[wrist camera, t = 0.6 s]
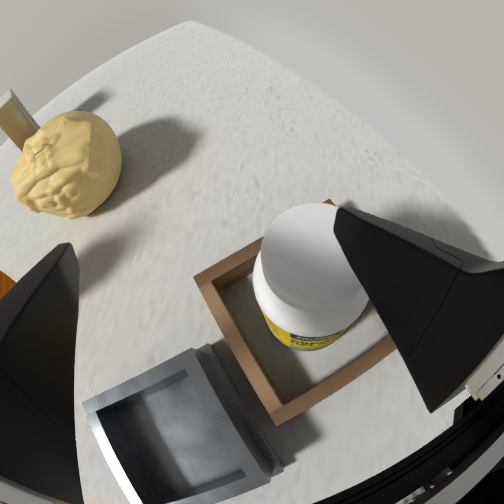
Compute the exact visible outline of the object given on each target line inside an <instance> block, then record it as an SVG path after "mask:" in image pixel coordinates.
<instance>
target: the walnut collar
mask: <svg viewBox="0 0 504 504" xmlns="http://www.w3.org/2000/svg"><path fill="white" fill-rule="evenodd" d="M323 203H327V204H331V205H334V206H336V205H335V204H334V203H333V202H332V201H331V200H330V199H328V200H326V201H325V202H323ZM263 237H264V236H263ZM263 237H261V238H260V239H258V240H256V241H254V242H253V243H251V244H249V245H248V246H246V247H244V248H242V249H241V250H239V251H237V252H235V253H234V254H232V255H230V256H228V257H227V258H225V259H223V260H221V261H220V262H218V263H216V264H215V265H213V266H211V267H209V268H208V269H206V270H204V271H202V272H201V273H199V274H197V275H195V276H194V277H193V278H194V280H195V282H196V284H197V286H198V288H199V290H200V291H201V293H202V295H203V297H204V299H205V301H206V303H207V305H208V307H209V309H210V311H211V313H212V315H213V317H214V318H215V320H216V322H217V324H218V326H219V328H220V330H221V332H222V333H223V335H224V337H225V339H226V341H227V343H228V344H229V346H230V348H231V350H232V352H233V353H234V355H235V357H236V359H237V360H238V362H239V364H240V366H241V368H242V369H243V371H244V373H245V375H246V376H247V378H248V380H249V381H250V383H251V385H252V387H253V388H254V390H255V392H256V393H257V395H258V397H259V398H260V400H261V402H262V403H263V405H264V407H265V408H266V410H267V412H268V413H269V415H270V417H271V418H272V420H273V421H274V423H275V425H276V426H278V425H280V424H282V423H284V422H286V421H287V420H289V419H291V418H293V417H295V416H296V415H298V414H300V413H302V412H303V411H305V410H307V409H309V408H310V407H312V406H314V405H315V404H317V403H319V402H320V401H322V400H324V399H325V398H327V397H328V396H330V395H332V394H333V393H335V392H336V391H338V390H339V389H341V388H342V387H344V386H345V385H347V384H348V383H350V382H351V381H353V380H354V379H356V378H357V377H359V376H360V375H362V374H363V373H364V372H366V371H367V370H369V369H370V368H371V367H373V366H374V365H376V364H377V363H378V362H380V361H381V360H382V359H384V358H385V357H386V356H388V355H389V354H390V353H391V352H393V351H394V350H395V349H397V347H396V345H395V343H394V341H393V339H392V338H391V336H390V334H389V335H387V336H386V337H385V338H384V339H382V340H381V341H380V342H378V343H377V344H375V345H374V346H373V347H371V348H370V349H369V350H367V351H366V352H364V353H363V354H362V355H360V356H359V357H357V358H356V359H354V360H353V361H352V362H350V363H349V364H347V365H346V366H344V367H343V368H341V369H340V370H338V371H337V372H335V373H334V374H332V375H330V376H329V377H327V378H326V379H324V380H323V381H321V382H319V383H318V384H316V385H315V386H313V387H311V388H310V389H308V390H306V391H305V392H303V393H301V394H300V395H298V396H296V397H294V398H293V399H291V400H289V401H287V402H286V403H284V402H283V401H282V399H281V398H280V396H279V394H278V393H277V391H276V389H275V388H274V386H273V384H272V383H271V381H270V379H269V378H268V376H267V374H266V373H265V371H264V369H263V368H262V366H261V364H260V363H259V361H258V359H257V357H256V356H255V354H254V352H253V351H252V349H251V347H250V345H249V344H248V342H247V340H246V338H245V337H244V335H243V333H242V331H241V330H240V328H239V326H238V324H237V323H236V321H235V319H234V317H233V315H232V314H231V312H230V310H229V308H228V306H227V305H226V303H225V301H224V299H223V297H222V296H221V294H220V292H219V291H221V290H223V289H224V288H226V287H228V286H230V285H231V284H233V283H235V282H236V281H238V280H240V279H242V278H243V277H245V276H247V275H249V274H250V273H252V272H253V270H254V265H255V261H256V258H257V256H258V253H259V251H260V250H261V244H262V240H263Z"/></svg>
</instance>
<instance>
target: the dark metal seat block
mask: <svg viewBox="0 0 504 504" xmlns="http://www.w3.org/2000/svg"><path fill="white" fill-rule="evenodd" d="M82 405H83V407H84V410H85V412H86V415H87V417H88V420H89V422H90V425H91V427H92V429H93V432H94V434H95V436H96V439H97V441H98V443H99V445H100V447H101V449H102V451H103V454H104V456H105V458H106V460H107V462H108V464H109V466H110V467H111V469H112V471H113V473H114V475H115V477H116V479H117V481H118V482H119V484H120V486H121V488H122V489H123V491H124V493H125V494H126V496H127V498H128V499H129V501H130V503H131V504H214V503H217V502H220V501H223V500H226V499H229V498H232V497H235V496H238V495H240V494H243V493H245V492H248V491H251V490H253V489H256V488H258V487H260V486H263V485H265V484H267V483H270V480H271V477H273V476H275V475H277V474H279V473H281V472H284V467H283V465H282V464H281V462H280V460H279V459H278V457H277V456H276V454H275V453H274V451H273V450H272V448H271V447H270V445H269V443H268V442H267V440H266V439H265V437H264V435H263V434H262V432H261V431H260V429H259V427H258V426H257V424H256V422H255V421H254V419H253V418H252V416H251V414H250V412H249V411H248V409H247V407H246V406H245V404H244V402H243V401H242V399H241V397H240V395H239V394H238V392H237V390H236V388H235V387H234V385H233V383H232V381H231V380H230V378H229V376H228V374H227V372H226V371H225V369H224V367H223V365H222V363H221V361H220V360H219V358H218V356H217V354H216V352H215V350H214V348H213V347H212V345H210V344H206V345H204V346H202V347H200V348H199V349H194V348H190V349H188V350H186V351H184V352H182V353H181V354H179V355H177V356H175V357H173V358H171V359H169V360H167V361H165V362H163V363H162V364H160V365H158V366H156V367H154V368H152V369H150V370H148V371H146V372H144V373H142V374H140V375H138V376H136V377H134V378H132V379H130V380H128V381H126V382H124V383H122V384H120V385H118V386H116V387H114V388H112V389H110V390H107V391H105V392H103V393H101V394H99V395H97V396H95V397H93V398H91V399H88V400H86V401H84V402H82Z"/></svg>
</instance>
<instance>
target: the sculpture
mask: <svg viewBox="0 0 504 504" xmlns="http://www.w3.org/2000/svg"><path fill="white" fill-rule="evenodd" d="M121 166H122V156H121V149H120V145H119V142H118V139H117V137H116V135H115V133H114V131H113V130H112V128H111V127H110V126H109V125H108V123H107V122H105V121H104V120H103V119H102V118H100V117H99V116H97V115H95V114H93V113H90V112H87V111H70V112H66V113H62V114H60V115H58V116H56V117H54V118H52V119H51V120H49V121H48V122H46V123H45V124H44V125H43V126H42V127H41V128H40V129H39V130H38V131H37V132H36V133H35V134H34V135H33V136H32V137H30V138H28V139H27V140H26V141H25V143H24V147H23V151H22V154H21V155H20V156H19V159H18V161H17V163H16V166H15V168H14V170H13V172H12V185H13V188H14V190H15V196H16V198H17V199H18V201H19V202H21V203H22V204H24V205H26V206H28V208H29V209H30V210H31V211H34V212H35V213H39V212H45V213H48V214H52V215H56V216H61V217H67V218H69V219H76V218H80V217H83V216H86V215H88V214H89V213H91V212H92V211H94V210H95V209H96V208H97V207H99V206H100V205H101V204H102V203H103V202H104V201H105V200H106V199H107V198H108V197H109V196H110V194H111V193H112V191H113V190H114V188H115V186H116V184H117V182H118V179H119V176H120V173H121Z"/></svg>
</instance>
